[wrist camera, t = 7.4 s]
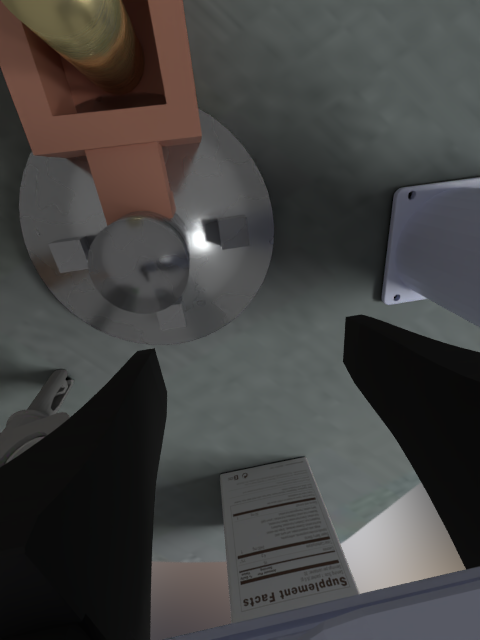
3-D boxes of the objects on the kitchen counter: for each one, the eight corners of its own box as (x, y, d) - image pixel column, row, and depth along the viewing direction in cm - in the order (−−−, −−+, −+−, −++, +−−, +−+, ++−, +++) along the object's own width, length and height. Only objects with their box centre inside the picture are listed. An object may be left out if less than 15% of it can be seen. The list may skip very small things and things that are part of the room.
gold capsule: (140, 17, 13) (90, -122, 7) (148, 96, 14) (111, 39, 8) (71, 11, 13) (-47, -140, 6) (86, 93, 14) (-2, 32, 8)
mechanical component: (-16, 386, 21) (-165, 540, 12) (118, 338, 21) (62, 461, 12) (12, 414, 23) (-105, 571, 14) (138, 370, 22) (100, 501, 14)
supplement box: (308, 508, 34) (383, 730, 20) (230, 524, 33) (253, 764, 20) (308, 453, 29) (401, 688, 16) (218, 471, 29) (238, 730, 15)
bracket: (174, -32, 13) (165, -118, 9) (209, 203, 18) (213, 213, 14) (16, -20, 13) (-65, -105, 9) (93, 219, 17) (63, 233, 13)
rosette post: (261, 83, 16) (302, 28, 10) (275, 319, 22) (305, 375, 16) (-20, 112, 15) (-169, 72, 9) (81, 350, 21) (36, 423, 15)
